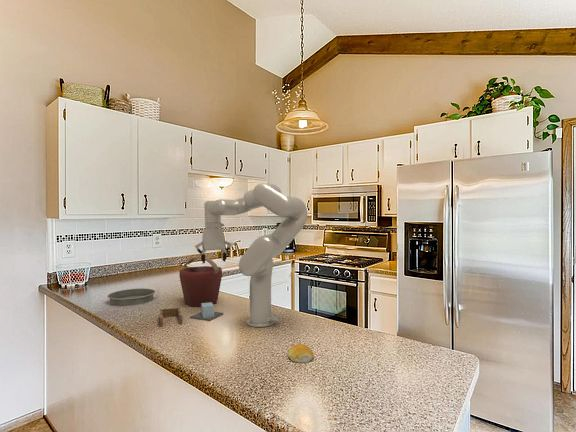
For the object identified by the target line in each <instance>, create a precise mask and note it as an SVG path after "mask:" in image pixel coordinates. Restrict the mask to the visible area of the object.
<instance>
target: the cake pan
mask: <svg viewBox="0 0 576 432" xmlns="http://www.w3.org/2000/svg"><path fill="white" fill-rule="evenodd" d="M155 294H156V290H155V289H153V288H127V289H120V290H118V291H117V290H116V291H114V292H111V293H109V294H107V296H106V297H107V299H109V301H110V304H111V305H112V304H113V306H117V307H120V306H121V307H124V306H125V307H129V305H130V306H136V305H142V304H143V305H144V304H147V303H149V302H151V301H152V300H153V299H154V295H155Z"/></svg>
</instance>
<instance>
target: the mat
mask: <svg viewBox="0 0 576 432" xmlns="http://www.w3.org/2000/svg"><path fill="white" fill-rule="evenodd" d="M223 315H224V312H222V311H221V312H220V311H214V317H207V318H203V317H202V314H201V311H200V312H197V313H195V314H193V315H190V316H189V319H193V320H199V321H205V322H206V321H207V322H211V321H212V320H215V319H217V318H219V317H221V316H223Z"/></svg>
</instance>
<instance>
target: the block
mask: <svg viewBox="0 0 576 432" xmlns="http://www.w3.org/2000/svg"><path fill="white" fill-rule="evenodd" d="M200 312H201V314H202V317H203V318H207V317H214V312H215V305H213V303H212V302H209V303H201V307H200Z"/></svg>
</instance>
